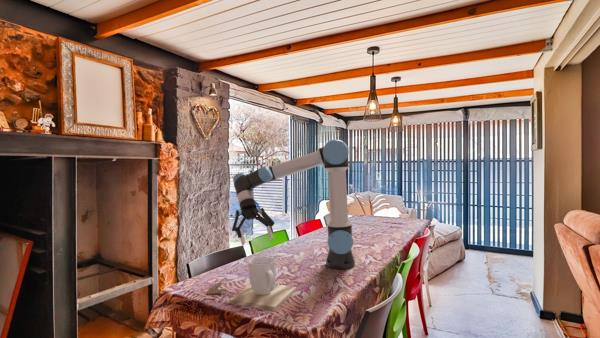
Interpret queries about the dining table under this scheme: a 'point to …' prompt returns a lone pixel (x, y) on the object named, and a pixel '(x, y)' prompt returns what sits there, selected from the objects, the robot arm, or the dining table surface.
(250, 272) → the mug
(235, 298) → the board
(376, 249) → the dining table surface
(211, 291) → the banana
